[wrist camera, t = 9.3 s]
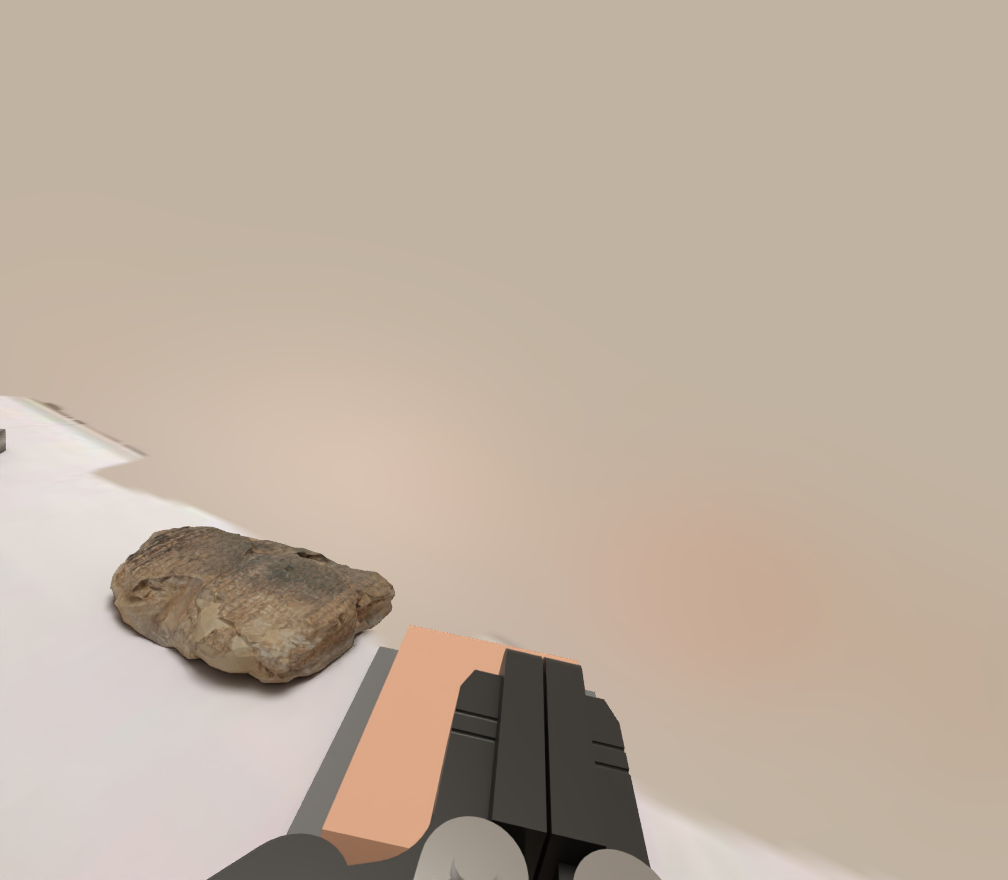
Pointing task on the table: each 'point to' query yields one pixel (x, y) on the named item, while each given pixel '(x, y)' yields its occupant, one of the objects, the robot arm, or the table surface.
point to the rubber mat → (345, 748)
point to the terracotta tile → (406, 745)
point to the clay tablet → (247, 602)
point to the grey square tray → (2, 440)
